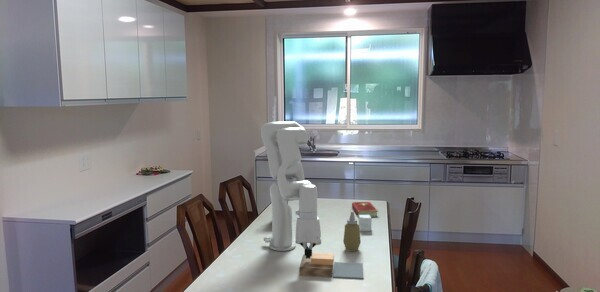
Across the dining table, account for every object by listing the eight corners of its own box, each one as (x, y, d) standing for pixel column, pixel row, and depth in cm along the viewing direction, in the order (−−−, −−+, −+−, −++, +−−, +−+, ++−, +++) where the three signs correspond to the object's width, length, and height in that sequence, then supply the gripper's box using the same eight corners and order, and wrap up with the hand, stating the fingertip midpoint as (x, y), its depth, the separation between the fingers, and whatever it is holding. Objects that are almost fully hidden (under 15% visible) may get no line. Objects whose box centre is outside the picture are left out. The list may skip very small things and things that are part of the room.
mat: (332, 277, 163) (332, 276, 163) (334, 263, 177) (334, 262, 177) (363, 279, 161) (363, 277, 161) (362, 264, 175) (362, 263, 175)
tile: (311, 264, 167) (310, 258, 167) (312, 258, 173) (312, 252, 173) (333, 265, 166) (333, 259, 166) (333, 259, 172) (333, 253, 172)
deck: (299, 275, 165) (299, 267, 165) (303, 262, 178) (303, 254, 177) (331, 277, 163) (331, 268, 163) (333, 263, 176) (333, 255, 176)
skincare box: (369, 227, 224) (369, 214, 223) (371, 231, 218) (371, 217, 217) (358, 227, 224) (358, 214, 223) (360, 231, 218) (360, 217, 217)
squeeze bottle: (347, 253, 188) (347, 215, 185) (340, 247, 195) (340, 210, 193) (363, 251, 190) (363, 213, 187) (356, 245, 197) (356, 209, 195)
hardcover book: (357, 217, 244) (357, 210, 243) (351, 208, 265) (352, 201, 264) (377, 217, 244) (377, 210, 244) (370, 207, 265) (370, 201, 265)
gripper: (288, 216, 165) (289, 260, 168) (325, 217, 163) (325, 261, 166) (291, 211, 173) (291, 253, 175) (327, 212, 171) (326, 254, 173)
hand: (308, 257), depth 170 cm, fingers closed
